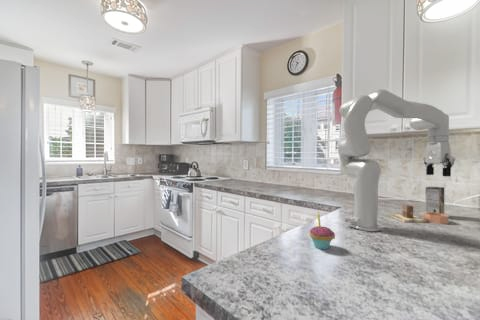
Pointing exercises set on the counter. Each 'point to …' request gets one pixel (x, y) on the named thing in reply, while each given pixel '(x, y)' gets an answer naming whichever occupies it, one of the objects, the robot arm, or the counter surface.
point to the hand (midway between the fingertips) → (437, 175)
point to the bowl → (436, 217)
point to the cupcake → (321, 236)
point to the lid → (407, 215)
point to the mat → (410, 222)
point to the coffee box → (435, 199)
